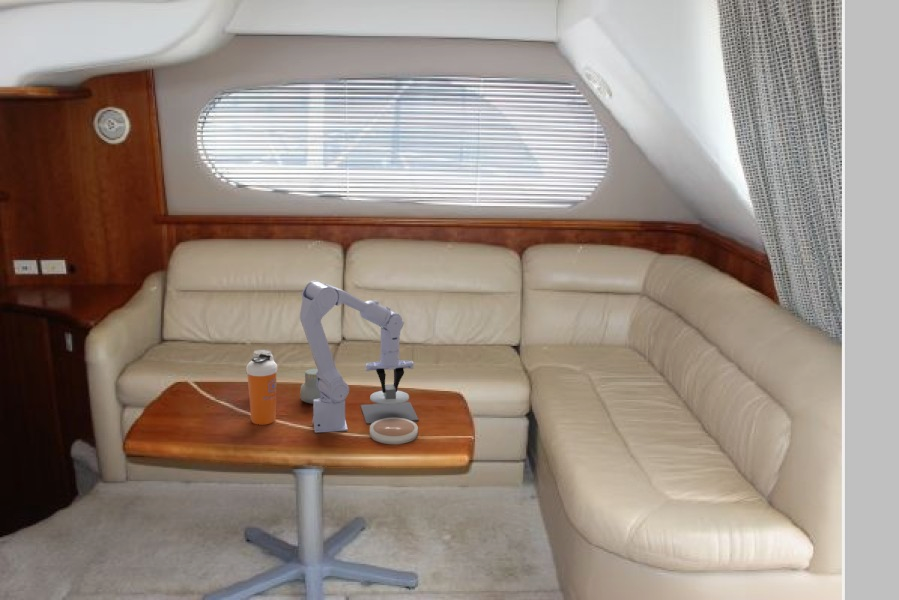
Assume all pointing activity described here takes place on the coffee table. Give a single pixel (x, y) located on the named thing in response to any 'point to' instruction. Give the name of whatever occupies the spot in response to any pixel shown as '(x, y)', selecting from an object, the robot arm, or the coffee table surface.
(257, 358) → the shaker bottle
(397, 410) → the mat
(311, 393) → the air freshener
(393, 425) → the dish
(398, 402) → the lid
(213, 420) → the coffee table surface
